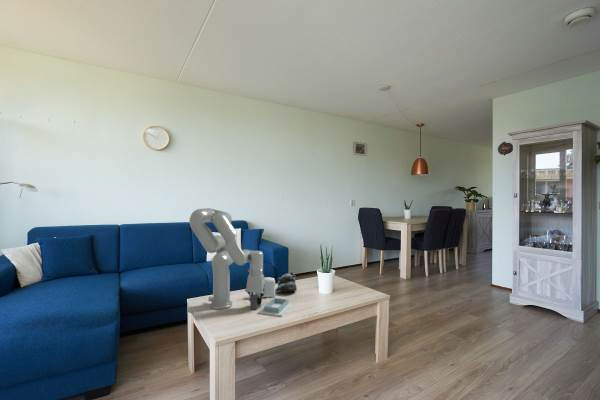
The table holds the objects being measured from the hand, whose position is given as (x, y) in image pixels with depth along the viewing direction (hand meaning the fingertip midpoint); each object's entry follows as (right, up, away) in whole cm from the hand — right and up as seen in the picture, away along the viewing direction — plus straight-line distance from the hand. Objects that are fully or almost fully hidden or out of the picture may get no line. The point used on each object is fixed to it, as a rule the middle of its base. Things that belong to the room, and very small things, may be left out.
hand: (255, 303), depth 168 cm
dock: (+12, -3, -2) cm, 13 cm away
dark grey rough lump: (+16, -3, +28) cm, 33 cm away
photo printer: (+4, -3, +19) cm, 19 cm away
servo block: (0, -2, 0) cm, 2 cm away
